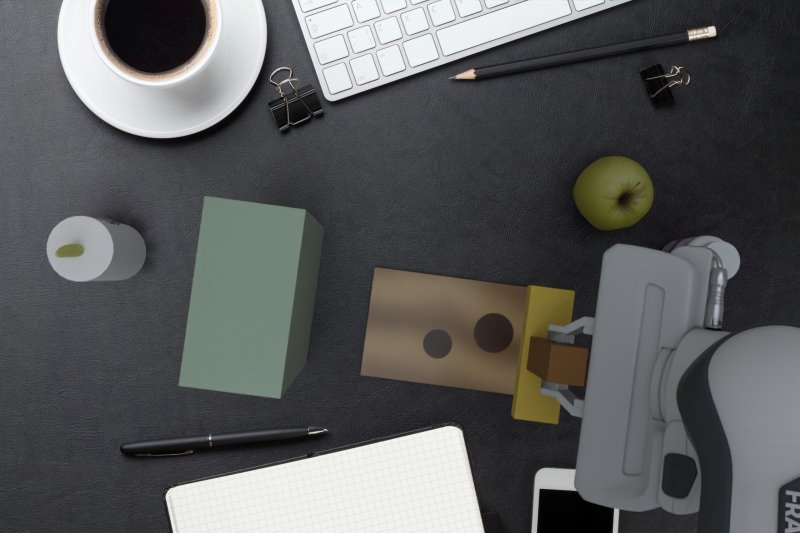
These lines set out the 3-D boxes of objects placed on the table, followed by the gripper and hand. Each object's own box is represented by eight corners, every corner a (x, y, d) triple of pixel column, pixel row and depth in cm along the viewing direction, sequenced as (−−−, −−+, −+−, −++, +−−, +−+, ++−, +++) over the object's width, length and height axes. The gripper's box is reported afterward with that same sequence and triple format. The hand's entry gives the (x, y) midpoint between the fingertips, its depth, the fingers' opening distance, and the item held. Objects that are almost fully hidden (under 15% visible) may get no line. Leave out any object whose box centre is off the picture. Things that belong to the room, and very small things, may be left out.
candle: (155, 233, 83) (107, 224, 68) (133, 289, 83) (80, 292, 68) (101, 212, 83) (41, 198, 68) (79, 268, 83) (14, 266, 68)
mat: (538, 397, 84) (539, 398, 84) (360, 374, 84) (360, 375, 83) (552, 290, 84) (553, 290, 84) (374, 266, 84) (374, 266, 83)
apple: (571, 146, 84) (625, 141, 74) (628, 173, 86) (686, 171, 77) (546, 213, 84) (597, 216, 74) (603, 238, 86) (659, 245, 77)
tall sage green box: (306, 363, 83) (280, 399, 59) (233, 354, 83) (178, 386, 59) (324, 228, 84) (306, 209, 60) (252, 218, 83) (204, 195, 59)
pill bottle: (710, 279, 85) (754, 279, 75) (665, 292, 85) (702, 294, 75) (696, 232, 85) (738, 227, 75) (651, 246, 85) (687, 242, 75)
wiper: (553, 420, 69) (583, 444, 60) (510, 415, 69) (532, 438, 60) (570, 290, 69) (602, 293, 60) (527, 284, 69) (552, 286, 60)
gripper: (714, 242, 52) (543, 231, 62) (677, 538, 52) (510, 481, 61) (745, 253, 57) (582, 241, 66) (711, 524, 57) (552, 474, 66)
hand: (547, 359), depth 64 cm, fingers closed on wiper, 3 cm apart
